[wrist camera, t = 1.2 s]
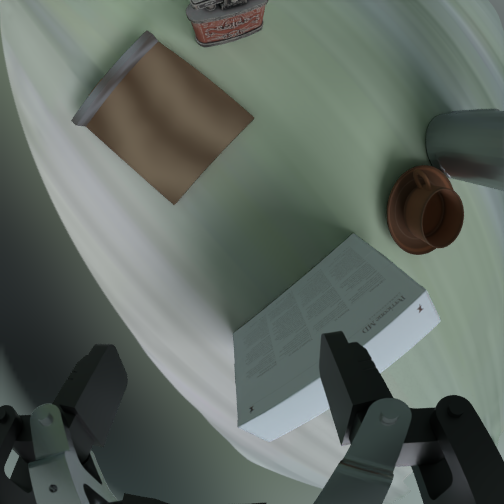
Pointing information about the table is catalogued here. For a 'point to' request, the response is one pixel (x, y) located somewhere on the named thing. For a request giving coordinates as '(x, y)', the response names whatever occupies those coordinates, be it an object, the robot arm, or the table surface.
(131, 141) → the shelf board
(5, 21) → the table surface
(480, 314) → the table surface
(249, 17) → the lighter
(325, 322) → the skincare box
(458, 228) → the cup and saucer
